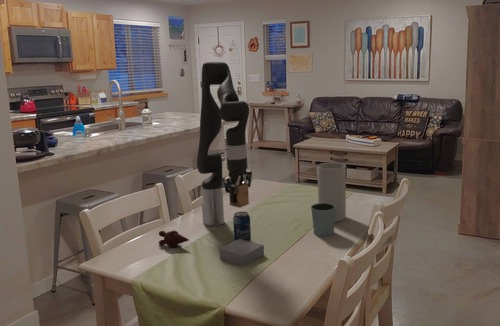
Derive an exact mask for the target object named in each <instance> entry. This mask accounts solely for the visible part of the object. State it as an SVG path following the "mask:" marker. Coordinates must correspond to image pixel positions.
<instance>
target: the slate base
mask: <svg viewBox="0 0 500 326" xmlns="http://www.w3.org/2000/svg"><path fill="white" fill-rule="evenodd" d="M218 251H219V259H221V260H225V261H227V262H229V263H230V262H231V263H233V264H237V265H240V266H243V267H244V266H246V265H249V264H250V263H252V262H254V261H256V260H257V259H259V258H261V257H262V256H265V246H264V244H262V243H258V242H254V241H251V240H250V241H247V240H243V239H238V240H236V241H235V240H234V241H232V242H230V243H228V244H225V245H223V246H221V247H219V249H218Z"/></svg>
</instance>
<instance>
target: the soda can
mask: <svg viewBox="0 0 500 326" xmlns="http://www.w3.org/2000/svg"><path fill="white" fill-rule="evenodd" d="M232 220H233V223H232V224H233V239H234V241H236V240H238V239H243V240H247V241H251V239H252V232H251V216H250V215H249V212H248V211H237V212H235V213H234V214H233V218H232Z"/></svg>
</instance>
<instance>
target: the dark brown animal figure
mask: <svg viewBox="0 0 500 326" xmlns="http://www.w3.org/2000/svg"><path fill="white" fill-rule="evenodd" d="M158 235H159V237H162V238H163V239H161V240H159V241H158V244H159V245H160V246H164V245H166V246H168V247H172V248H176V247H177V246H179V245H180V244H182V243H186V242H189V239H190V238H189V239H188V238H187V237H185V236H183V235H182V234H179V231H177V230H171V231H168V232H166V231H165V230H163V231H162V230H161V231H160V230H159V232H158Z"/></svg>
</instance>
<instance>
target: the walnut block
mask: <svg viewBox="0 0 500 326" xmlns="http://www.w3.org/2000/svg"><path fill="white" fill-rule="evenodd" d="M233 185H235V184H233ZM232 190H234V187H232ZM228 195H229V196H228V197H229V206H231V207H235V208H242V207H245V206H248V205H250V203H249V201H250V199H249V187H248V182H247V183H245V184H244V183H240V184H239V186H237V188H236V196H237V203H236V204H234V203H232V202H231V197H230V193H228Z"/></svg>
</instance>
